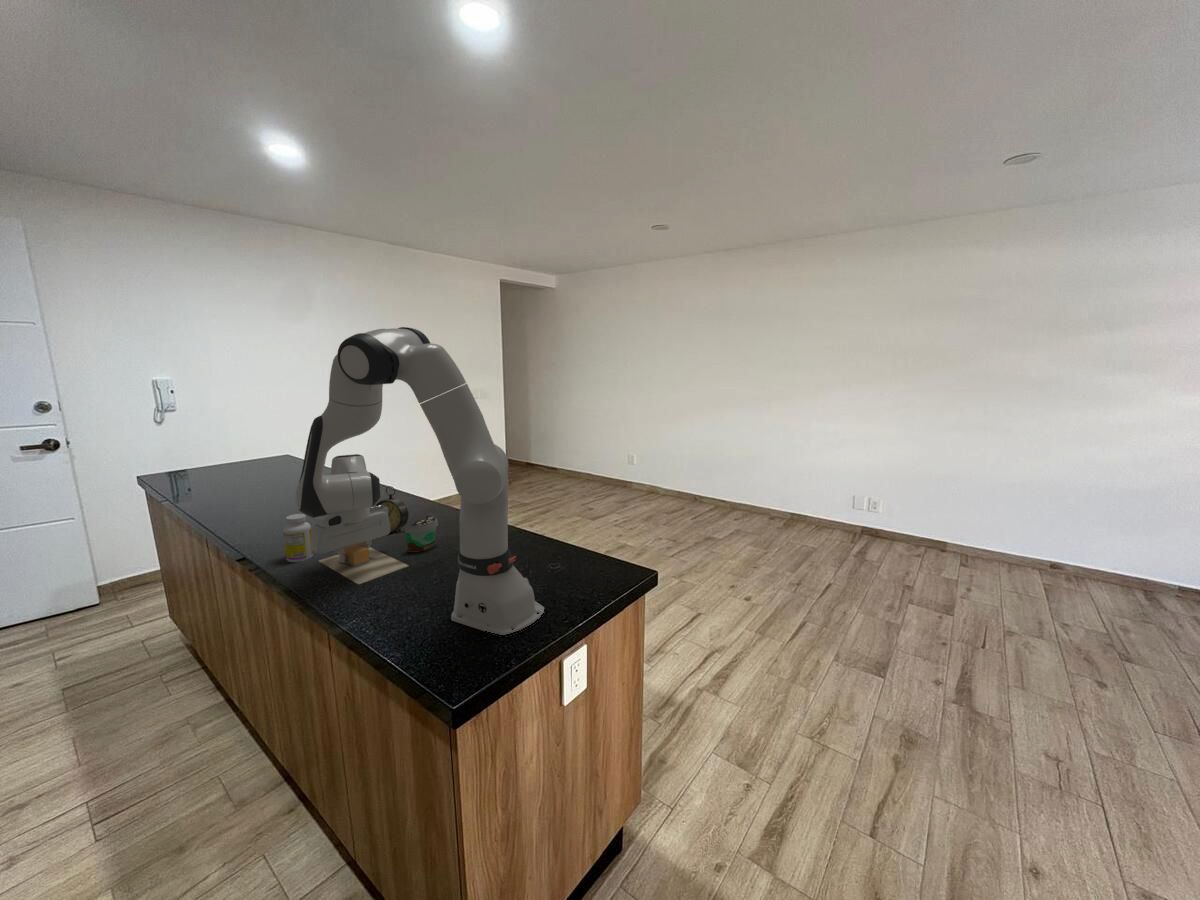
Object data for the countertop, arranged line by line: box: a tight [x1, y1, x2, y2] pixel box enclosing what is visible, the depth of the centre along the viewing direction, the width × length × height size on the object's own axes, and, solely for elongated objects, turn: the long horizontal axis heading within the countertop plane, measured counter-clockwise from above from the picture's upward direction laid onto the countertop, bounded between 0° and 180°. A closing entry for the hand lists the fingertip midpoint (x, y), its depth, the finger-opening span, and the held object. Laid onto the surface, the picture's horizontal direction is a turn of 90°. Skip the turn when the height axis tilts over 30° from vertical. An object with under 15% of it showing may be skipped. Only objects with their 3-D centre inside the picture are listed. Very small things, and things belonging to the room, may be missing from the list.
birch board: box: [318, 546, 409, 585], centre depth 127 cm, size 22×14×2 cm, turn 55°
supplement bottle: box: [282, 513, 314, 563], centre depth 130 cm, size 7×7×13 cm
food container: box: [404, 513, 439, 553], centre depth 139 cm, size 12×6×10 cm, turn 168°
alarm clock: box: [375, 485, 409, 533], centre depth 152 cm, size 11×5×16 cm, turn 76°
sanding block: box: [342, 543, 369, 567], centre depth 127 cm, size 8×4×4 cm, turn 54°
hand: (354, 558), depth 127 cm, fingers closed on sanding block, 4 cm apart
